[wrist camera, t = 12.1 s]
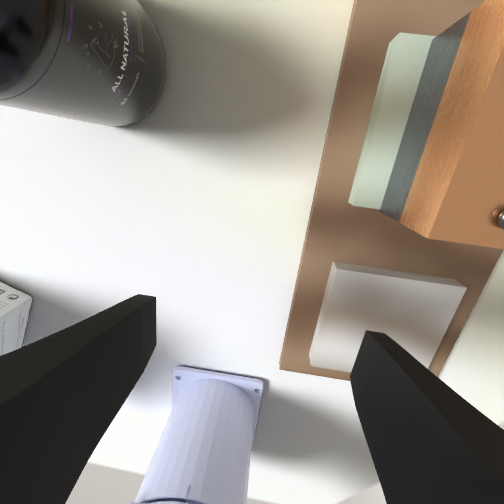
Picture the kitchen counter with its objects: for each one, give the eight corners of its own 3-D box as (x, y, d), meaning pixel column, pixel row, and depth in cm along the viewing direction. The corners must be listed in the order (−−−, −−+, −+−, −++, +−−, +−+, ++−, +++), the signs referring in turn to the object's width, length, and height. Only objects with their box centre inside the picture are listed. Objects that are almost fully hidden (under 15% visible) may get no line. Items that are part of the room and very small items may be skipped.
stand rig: (423, 385, 21) (437, 407, 19) (279, 362, 22) (279, 381, 20) (603, 22, 12) (661, -1, 11) (355, -4, 13) (368, -31, 11)
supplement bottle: (186, 106, 15) (-51, -20, 4) (90, 141, 17) (-293, 115, 5) (138, -39, 13) (-630, -1121, 2) (32, 14, 14) (-819, -477, 3)
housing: (545, 52, 11) (748, -26, 7) (468, 223, 14) (569, 260, 9) (432, 39, 12) (547, -46, 7) (379, 211, 15) (432, 241, 10)
